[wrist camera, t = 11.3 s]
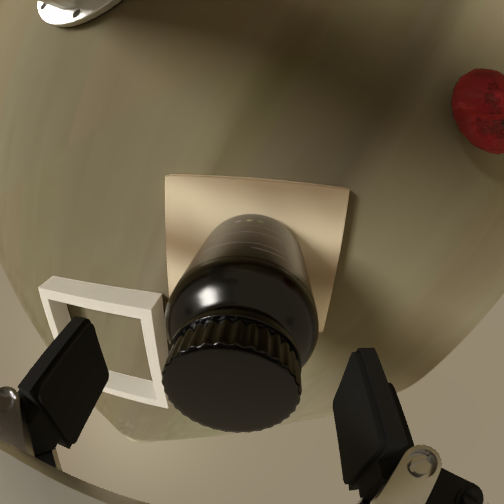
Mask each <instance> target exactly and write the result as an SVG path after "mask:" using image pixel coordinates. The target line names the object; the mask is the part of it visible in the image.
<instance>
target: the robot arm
mask: <svg viewBox="0 0 504 504" xmlns="http://www.w3.org/2000/svg"><path fill="white" fill-rule="evenodd" d="M37 1H38V12H39V15H40V17H41V18H42V20H44V21H45V22H46V23H48V24H50V25H53V26H57V27H72V26H76V25H79V24H82V23H85V22H87V21H89V20H92V19H94V18H96V17H98V16H99V15H101V14H103V13H104V12H106V11H108V10H109V9H111V8H112V7H113V6H115V5H116V4H118V3H119V2H120V1H122V0H37ZM108 379H109V371H108V369H107V366H106V363H105V360H104V357H103V354H102V351H101V348H100V345H99V342H98V338H97V335H96V332H95V328H94V325H93V324H91V322H90V320H89V319H86V318H82V317H78V316H75V317H73V318H72V319H71V321H70V322H69V323H68V324H67V325H66V326H65V328H64V329H63V330H62V331H61V332H60V333H59V335H58V336H57V337H56V338H55V339H54V341H53V342H52V343H51V344H50V346H49V347H48V348H47V349H46V351H45V352H44V353H43V354H42V355H41V357H40V358H39V359H38V361H37V362H36V363H35V364H34V366H33V367H32V368H31V370H30V371H29V372H28V374H27V375H26V376H25V378H24V379H23V380H22V381H21V383H20V384H19V386H18V388H19V389H20V390H19V391H18V392H17V391H16V390H15V389H14V388H12V387H7V386H6V387H1V388H0V504H149V503H145V502H141V501H138V500H135V499H132V498H128V497H125V496H122V495H119V494H116V493H113V492H110V491H108V490H105V489H102V488H100V487H97V486H95V485H92V484H89V483H87V482H85V481H82V480H80V479H78V478H75V477H73V476H71V475H69V474H67V473H65V472H63V471H62V469H61V465H60V462H59V459H58V455H57V451H56V448H55V447H56V445H57V444H60V445H62V446H64V447H66V448H69V449H70V447H71V445H72V444H74V443H76V441H77V439H78V437H79V435H80V433H81V431H82V429H83V427H84V425H85V423H86V422H87V419H88V417H89V416H90V414H91V412H92V410H93V408H94V406H95V404H96V402H97V400H98V398H99V397H100V395H101V393H102V391H103V389H104V387H105V385H106V384H107V382H108ZM333 412H334V418H335V424H336V430H337V437H338V443H339V451H340V458H341V465H342V473H343V480H344V483H345V484H349V490H357V489H359V494H360V497H361V499H360V500H359V501H358V503H357V504H483V493H482V490H481V489H480V488H479V487H478V486H477V485H475V484H474V483H471V482H469V481H467V480H465V479H463V478H461V477H459V476H457V475H455V474H453V473H451V472H449V471H447V470H445V469H443V468H441V466H442V463H441V458H440V456H439V454H438V453H437V451H436V450H435V449H433V448H431V447H429V446H426V445H416V446H414V443H413V440H412V437H411V434H410V431H409V428H408V425H407V422H406V419H405V416H404V413H403V410H402V407H401V404H400V402H399V399H398V397H397V393H396V391H395V388H394V386H393V385H392V384H391V383H388V381H387V379H386V376H385V373H384V371H383V368H382V365H381V363H380V360H379V358H378V355H377V353H376V350H375V349H374V348H358V349H357V351H356V352H352V354H351V356H350V359H349V362H348V364H347V367H346V370H345V372H344V375H343V377H342V380H341V383H340V385H339V388H338V390H337V392H336V395H335V397H334V400H333ZM487 504H488V503H487Z"/></svg>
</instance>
